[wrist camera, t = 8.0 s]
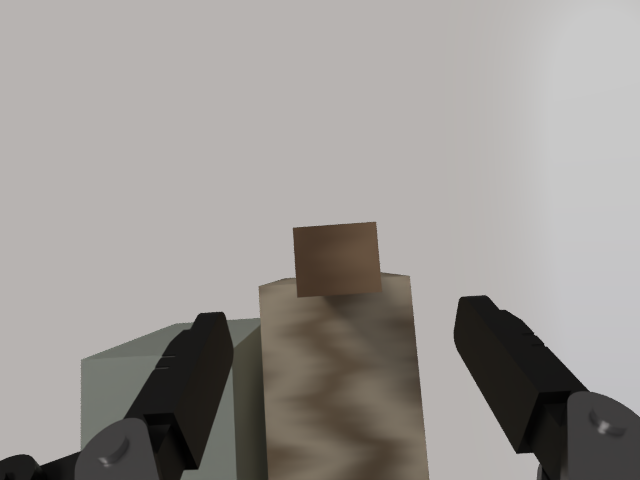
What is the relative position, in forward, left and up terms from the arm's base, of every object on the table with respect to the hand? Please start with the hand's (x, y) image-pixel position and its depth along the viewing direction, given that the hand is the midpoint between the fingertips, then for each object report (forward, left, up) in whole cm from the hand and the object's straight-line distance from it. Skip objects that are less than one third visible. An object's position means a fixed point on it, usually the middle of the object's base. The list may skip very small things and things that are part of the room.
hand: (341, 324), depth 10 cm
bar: (0, +11, +1) cm, 11 cm away
